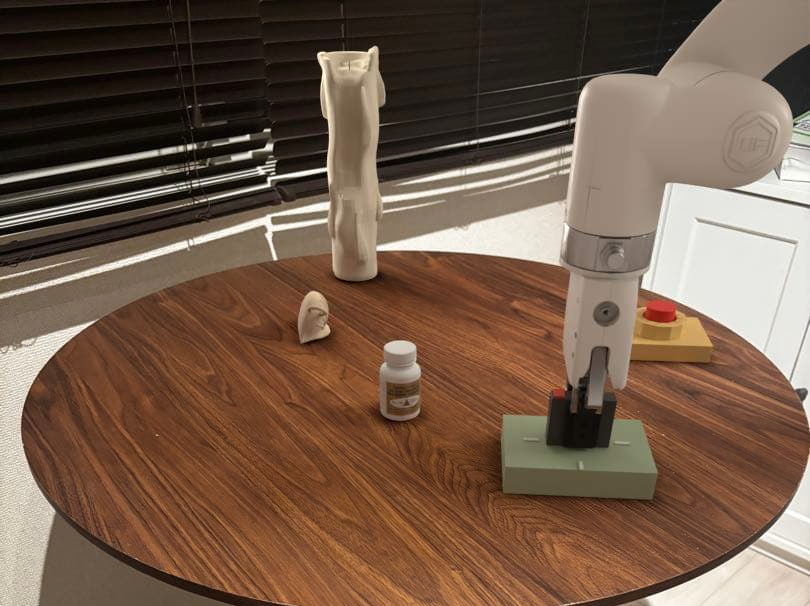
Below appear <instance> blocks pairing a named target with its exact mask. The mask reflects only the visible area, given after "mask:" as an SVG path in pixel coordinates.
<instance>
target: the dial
mask: <svg viewBox="0 0 810 606" xmlns="http://www.w3.org/2000/svg"><path fill="white" fill-rule="evenodd" d="M586 392H587V391H580V394H579V396H580V395H581V393H586ZM571 396H572V391H566V390H565V388H552V389H551V390H550V394H549V400H548V401H549V402H548V408H547V410H548V411H547V415H546V416H547V424H546V432H545V439H546V445H559V446H563V445H562V437H563V430H564V423H565V416H566V409H567V408H570V404H571ZM617 405H618V399H617V396H616V393H615V392H613V391H612V392H609V391H605V394H604V400H603V406H602V415H601V421H600V427H599V432H598V438H597V444H596V447H609V443H610V438H611V432H612V427H613V422H614V419H615V416H616V410H617Z"/></svg>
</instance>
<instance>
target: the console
mask: <svg viewBox="0 0 810 606" xmlns="http://www.w3.org/2000/svg"><path fill="white" fill-rule="evenodd" d="M547 416H548V415H526V414H503V415H502V423H501V434H500V448H501V449H500V450H501V451H500V453H501V474H502V475H501V476H502V494H515V495H535V496H536V495H537V496H556V497H559V496H560V497H579V498H581V497H582V498H600V499H601V498H602V499H625V500H626V499H628V500H647V501H649V500H650V501H652V500H653V497H654V493H655V489H656V485H657V479H658V475H659V472H658V469H657V466H656V463H655V460H654V459H655V458H654V457H653V454H652V450H651V446H650V444H649V441H648V437H647V435H646V432H645V428H644V425H643V422H642V419H630V418H629V419H628V418H626V419H625V418H614V422H613V427H612V432H611V438H610V443H609V447H595V448H592V449H590V448H566V447H563V446H559V445H546V439H545V432H546V424H547Z"/></svg>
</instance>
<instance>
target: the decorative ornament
mask: <svg viewBox="0 0 810 606" xmlns="http://www.w3.org/2000/svg"><path fill="white" fill-rule="evenodd" d="M329 313H330V312H329V305H328V302H327V299H326V297H325V296H324V295H323V294H322V293H320V292H318V291H315V290H312V291H309V292H308V293H307V294H306V295H305V296H304V298H303V300H302V302H301V305H300V309H299V313H298V318H297V329H298V338H299V342H300V344H304V343H307V342H311V341H314V340H319V339H323V338H326V337H328V336H329V334H330V333H331V330H330V326H329V325H328V324H327V323H328V319H329V315H330V314H329Z"/></svg>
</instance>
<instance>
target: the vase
mask: <svg viewBox="0 0 810 606" xmlns="http://www.w3.org/2000/svg"><path fill="white" fill-rule="evenodd" d="M316 56H317V61H318V63H319V65H320V67H321V71H322V76H321V83H320V106H321V112H322V116H323V118H324V119H326V120H327V124H328V150H327V158H326V159H327V160H326V170H327V171H326V172H327V182H328V191H329V208H328V214H327V231H328V235H329V236H330V238H331V250H332V252H331V254H332V271H333V273H334V276H335V277H336V278H338V279H340V280H344V281H350V282H360V281H361V282H362V281H368V280H371V279H373V278H375V277H376V276H377V275H378V259H377V257H378V256H377V255H378V254H377V236H378V235H377V234H378V222H379V221H381V220H382V219H383V214H384V203H383V202H384V201H383V198H382V196H381V193H380V190H379V189H380V188H379V179H378V173H377V150H378V143H379V137H380V136H379V134H380V112H379V110H380V109H379V108H382V107H383V106H384V105H385V104H386V90H385V89H386V88H385V83H384V80H383V78H382V75H381V72H380V71H379V65H380V64H379V63H380V61H379V47H378V46H376V45H374V46H372V47H371V48H369V49H368V51H357V50H356V51H355V50H354V51H353V50H352V51H350V50H349V51H346V50H345V51H344V50H343V51H342V50H341V51H331V52H330V51H329V52H326V51H319V52H318V53H317V55H316Z"/></svg>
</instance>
